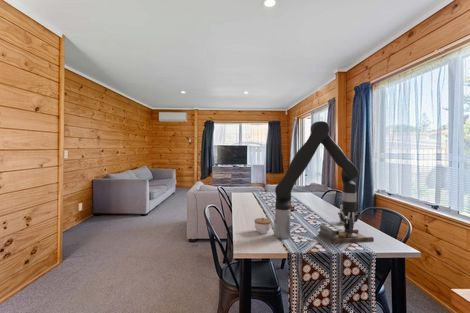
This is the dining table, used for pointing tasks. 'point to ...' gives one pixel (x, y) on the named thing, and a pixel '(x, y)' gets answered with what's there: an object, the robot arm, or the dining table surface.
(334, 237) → the press base
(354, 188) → the robot arm
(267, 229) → the lidded jar
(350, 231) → the press jaw
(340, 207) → the supplement box
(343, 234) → the hazelnut
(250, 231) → the dining table surface
